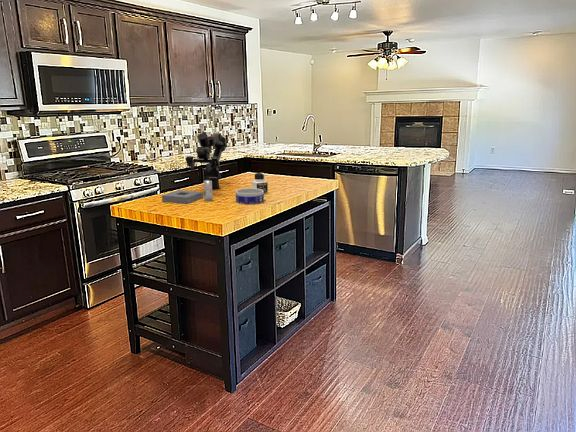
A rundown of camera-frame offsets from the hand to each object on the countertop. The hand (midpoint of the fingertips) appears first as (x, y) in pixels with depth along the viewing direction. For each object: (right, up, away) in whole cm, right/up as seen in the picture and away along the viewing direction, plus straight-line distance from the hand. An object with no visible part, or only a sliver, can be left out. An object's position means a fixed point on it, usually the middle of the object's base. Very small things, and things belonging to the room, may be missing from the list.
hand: (199, 171), depth 249 cm
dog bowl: (+29, -17, -6) cm, 34 cm away
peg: (+6, -16, -4) cm, 18 cm away
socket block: (-9, -16, -3) cm, 18 cm away
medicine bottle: (+33, -12, +15) cm, 38 cm away
